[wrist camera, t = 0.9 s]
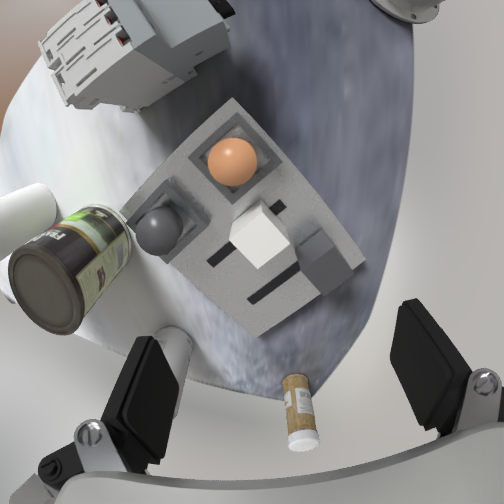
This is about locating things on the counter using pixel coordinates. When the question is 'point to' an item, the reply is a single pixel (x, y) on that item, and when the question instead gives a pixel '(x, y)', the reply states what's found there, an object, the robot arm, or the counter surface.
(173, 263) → the panel
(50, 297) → the coffee can
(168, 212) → the button black
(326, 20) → the counter surface
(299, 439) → the sprinkles bottle
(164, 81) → the circuit breaker
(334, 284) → the slider black
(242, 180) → the button orange
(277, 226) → the slider white
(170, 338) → the energy drink can
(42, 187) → the cylindrical container
